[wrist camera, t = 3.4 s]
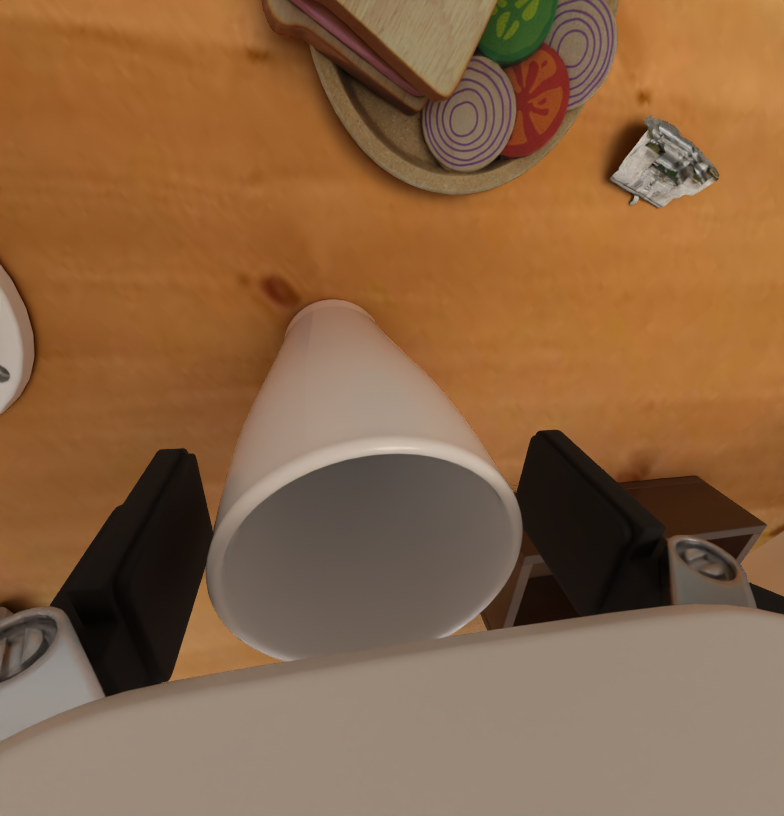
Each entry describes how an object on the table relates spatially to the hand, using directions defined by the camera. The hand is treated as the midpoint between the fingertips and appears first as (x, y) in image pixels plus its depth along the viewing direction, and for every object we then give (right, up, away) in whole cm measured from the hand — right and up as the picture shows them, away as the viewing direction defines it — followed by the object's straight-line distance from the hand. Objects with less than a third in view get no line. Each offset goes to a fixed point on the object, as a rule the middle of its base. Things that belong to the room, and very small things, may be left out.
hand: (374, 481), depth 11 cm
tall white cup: (-3, +6, +10) cm, 12 cm away
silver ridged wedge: (+15, +15, +8) cm, 22 cm away
